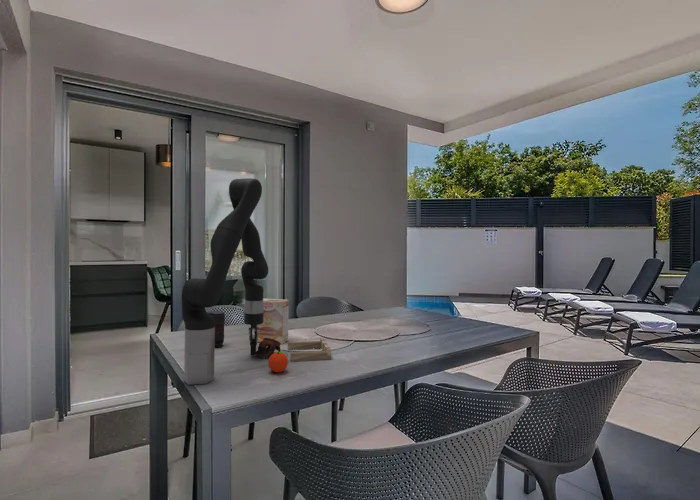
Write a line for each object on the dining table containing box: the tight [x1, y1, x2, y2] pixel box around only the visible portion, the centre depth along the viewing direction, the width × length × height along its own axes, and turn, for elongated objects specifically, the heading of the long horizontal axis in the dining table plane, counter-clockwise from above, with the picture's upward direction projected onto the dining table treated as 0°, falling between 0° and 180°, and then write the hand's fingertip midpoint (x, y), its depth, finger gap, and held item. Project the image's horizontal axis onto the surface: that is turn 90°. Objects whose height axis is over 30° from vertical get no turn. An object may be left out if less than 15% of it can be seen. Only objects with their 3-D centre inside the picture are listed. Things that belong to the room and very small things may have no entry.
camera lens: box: [206, 310, 226, 349], centre depth 169 cm, size 8×8×15 cm
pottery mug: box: [255, 338, 282, 360], centre depth 155 cm, size 12×10×8 cm
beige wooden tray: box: [287, 338, 332, 362], centre depth 159 cm, size 18×16×4 cm
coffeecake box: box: [257, 297, 290, 345], centre depth 179 cm, size 15×7×20 cm, turn 76°
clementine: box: [267, 351, 289, 373], centre depth 137 cm, size 8×7×7 cm
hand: (253, 354), depth 154 cm, fingers closed
